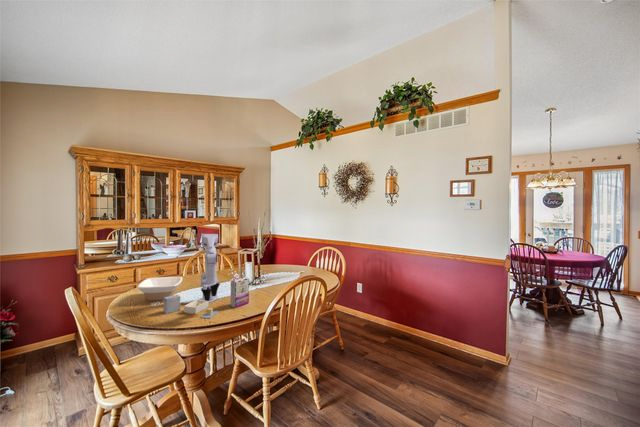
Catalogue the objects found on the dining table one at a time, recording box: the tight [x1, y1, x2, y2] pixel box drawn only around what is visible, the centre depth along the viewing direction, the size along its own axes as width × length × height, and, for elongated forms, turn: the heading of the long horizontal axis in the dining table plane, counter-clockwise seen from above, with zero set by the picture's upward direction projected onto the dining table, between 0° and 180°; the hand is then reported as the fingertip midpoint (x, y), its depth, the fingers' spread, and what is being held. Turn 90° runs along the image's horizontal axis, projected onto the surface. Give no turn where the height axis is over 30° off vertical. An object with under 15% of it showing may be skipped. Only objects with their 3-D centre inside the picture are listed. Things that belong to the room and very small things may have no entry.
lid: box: [199, 307, 220, 320], centre depth 157 cm, size 10×6×4 cm, turn 174°
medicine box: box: [162, 294, 181, 315], centre depth 160 cm, size 8×4×9 cm, turn 141°
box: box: [183, 298, 210, 315], centre depth 164 cm, size 12×8×4 cm, turn 167°
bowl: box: [137, 276, 183, 302], centre depth 183 cm, size 24×25×11 cm
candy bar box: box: [230, 276, 250, 309], centre depth 174 cm, size 11×5×16 cm, turn 149°
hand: (210, 298), depth 157 cm, fingers open, 7 cm apart
